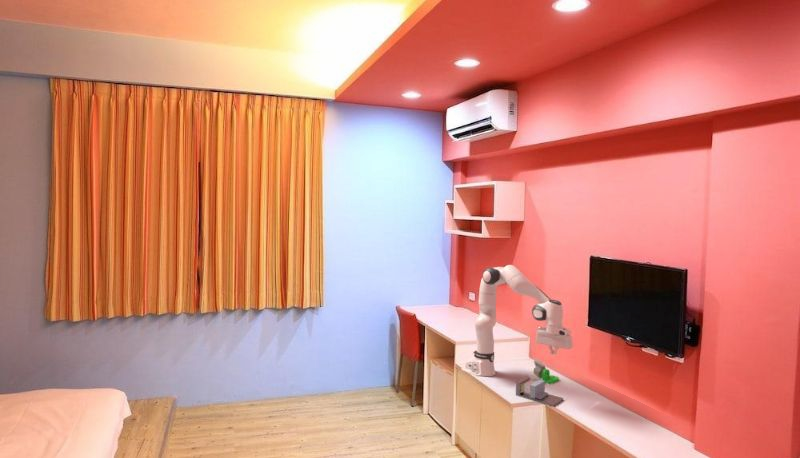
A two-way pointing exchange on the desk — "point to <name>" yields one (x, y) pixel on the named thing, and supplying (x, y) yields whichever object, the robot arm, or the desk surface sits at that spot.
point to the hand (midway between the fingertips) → (553, 353)
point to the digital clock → (538, 368)
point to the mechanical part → (549, 377)
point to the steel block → (527, 387)
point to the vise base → (547, 400)
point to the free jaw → (538, 390)
